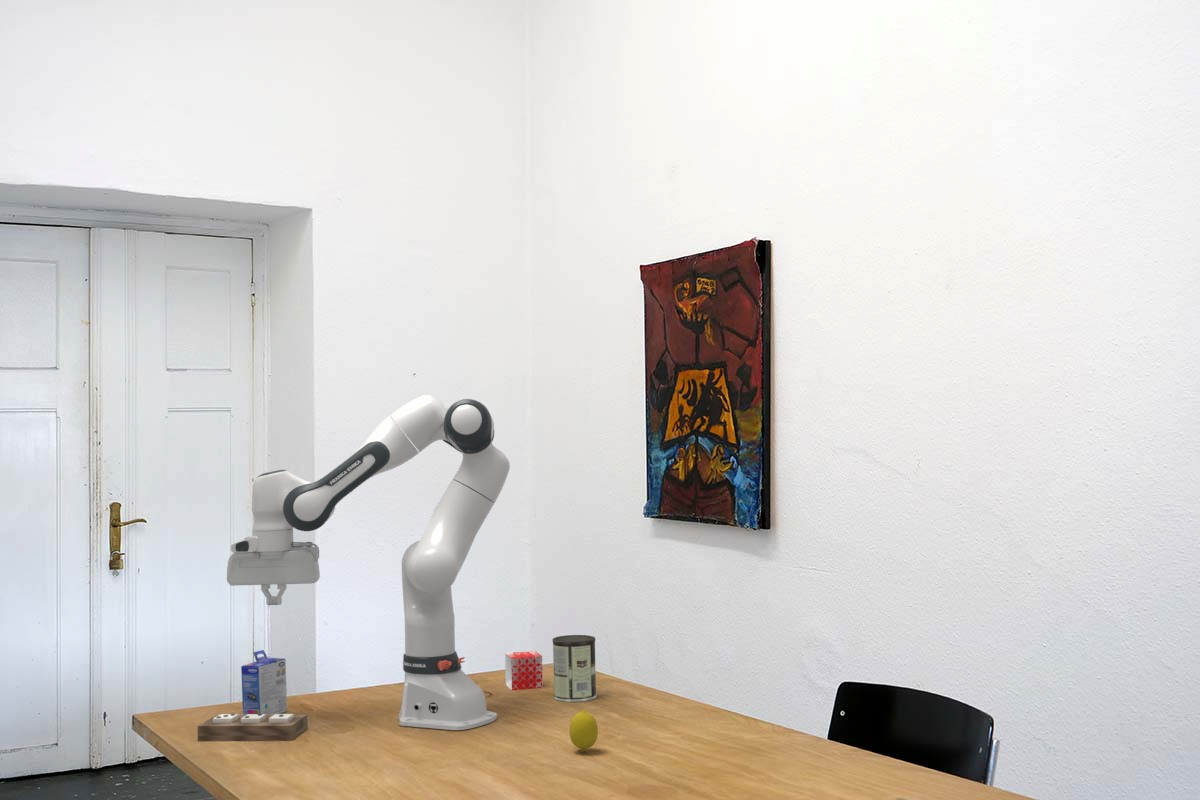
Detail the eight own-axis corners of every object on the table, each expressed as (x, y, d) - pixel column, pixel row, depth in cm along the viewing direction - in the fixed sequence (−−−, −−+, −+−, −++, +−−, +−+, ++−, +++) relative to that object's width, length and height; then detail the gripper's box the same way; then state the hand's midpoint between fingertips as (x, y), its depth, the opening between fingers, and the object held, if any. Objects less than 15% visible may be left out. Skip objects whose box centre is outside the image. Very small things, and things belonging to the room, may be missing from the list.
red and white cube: (542, 688, 278) (542, 656, 279) (511, 690, 276) (511, 658, 277) (535, 682, 286) (535, 650, 286) (505, 684, 284) (505, 652, 284)
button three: (238, 725, 239) (238, 713, 239) (231, 730, 235) (231, 717, 235) (220, 725, 239) (220, 713, 239) (212, 730, 235) (212, 717, 235)
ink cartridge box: (268, 710, 260) (268, 647, 260) (288, 711, 258) (287, 648, 258) (240, 719, 250) (240, 654, 251) (260, 721, 248) (260, 655, 249)
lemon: (601, 749, 220) (601, 707, 220) (592, 756, 215) (591, 714, 215) (575, 747, 222) (574, 706, 222) (565, 754, 216) (565, 712, 217)
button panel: (307, 728, 241) (307, 714, 241) (292, 740, 231) (292, 725, 231) (216, 728, 242) (216, 714, 242) (197, 740, 232) (197, 726, 232)
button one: (293, 725, 238) (293, 713, 238) (287, 730, 234) (287, 717, 234) (275, 725, 238) (275, 713, 239) (268, 730, 235) (268, 717, 235)
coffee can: (573, 691, 274) (572, 633, 274) (605, 696, 267) (604, 637, 268) (544, 698, 266) (543, 639, 267) (576, 704, 259) (575, 643, 260)
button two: (266, 725, 239) (266, 713, 239) (259, 730, 235) (259, 717, 235) (247, 725, 239) (247, 713, 239) (240, 730, 235) (240, 717, 235)
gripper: (322, 540, 254) (324, 601, 253) (233, 542, 254) (234, 603, 254) (314, 542, 247) (316, 605, 247) (223, 545, 248) (224, 607, 247)
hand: (274, 604), depth 250 cm, fingers closed
